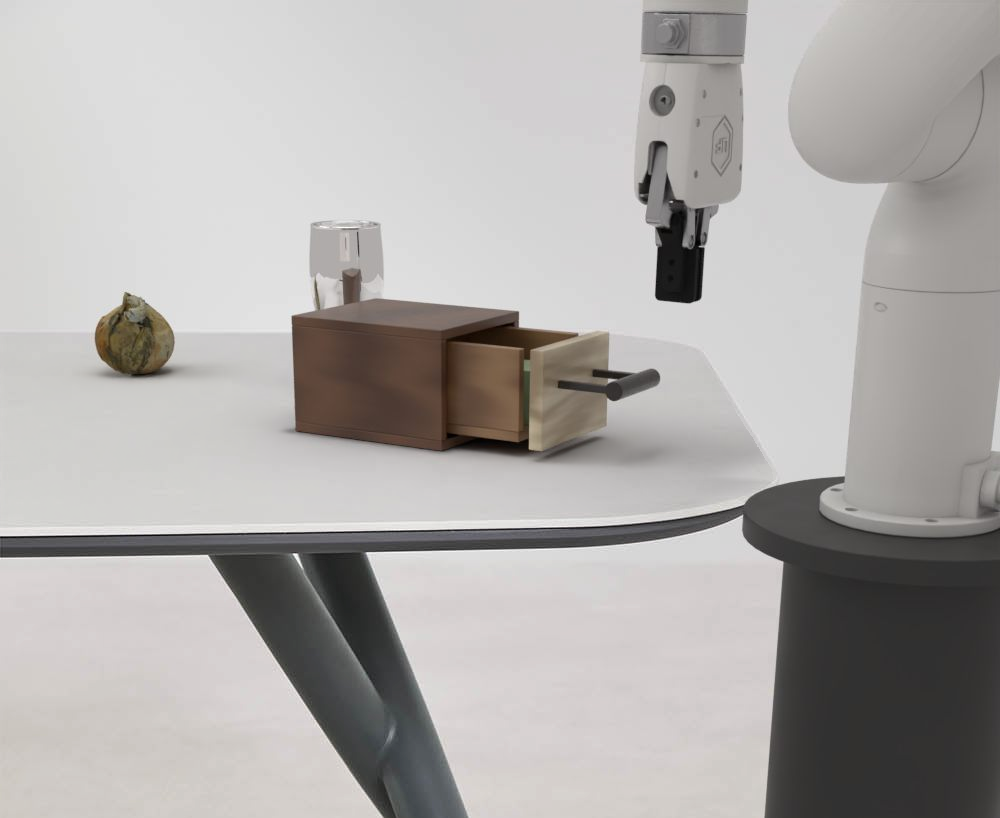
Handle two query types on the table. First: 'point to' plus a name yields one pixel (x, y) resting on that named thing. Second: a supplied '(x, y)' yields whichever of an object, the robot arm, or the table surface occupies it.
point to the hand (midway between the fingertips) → (678, 300)
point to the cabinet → (381, 369)
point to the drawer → (533, 384)
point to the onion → (134, 337)
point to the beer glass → (345, 262)
